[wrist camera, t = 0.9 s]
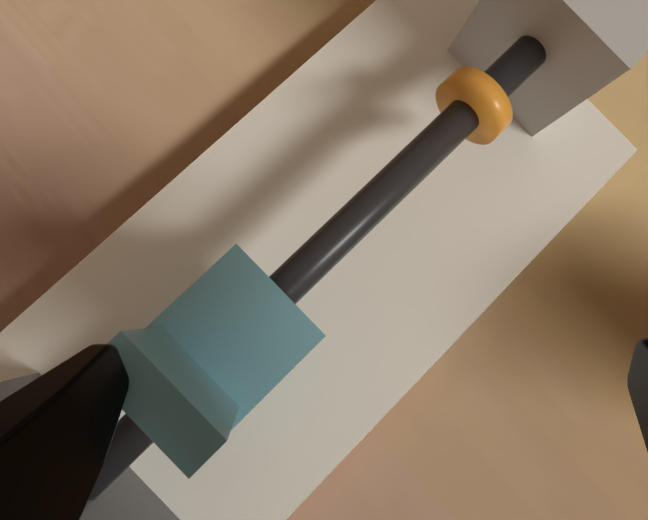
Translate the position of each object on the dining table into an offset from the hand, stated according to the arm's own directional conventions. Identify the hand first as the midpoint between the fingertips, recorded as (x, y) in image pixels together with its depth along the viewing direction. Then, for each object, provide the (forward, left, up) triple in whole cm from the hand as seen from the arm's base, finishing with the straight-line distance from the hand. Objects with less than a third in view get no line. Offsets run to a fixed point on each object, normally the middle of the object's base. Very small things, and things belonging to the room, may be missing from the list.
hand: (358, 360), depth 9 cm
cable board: (+2, +2, -12) cm, 13 cm away
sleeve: (-2, +2, -9) cm, 10 cm away
